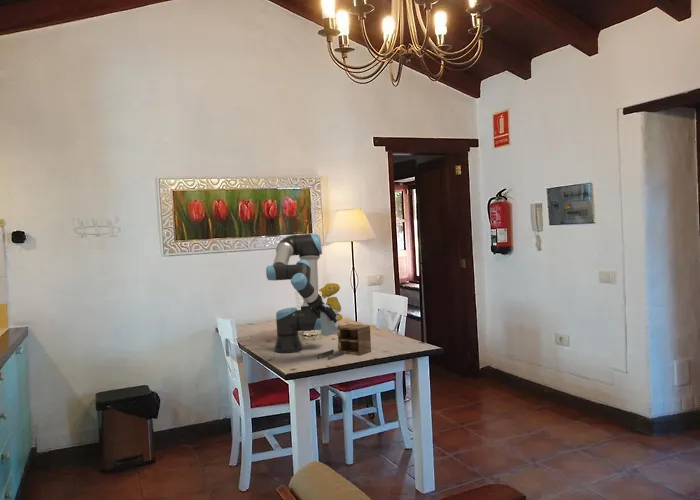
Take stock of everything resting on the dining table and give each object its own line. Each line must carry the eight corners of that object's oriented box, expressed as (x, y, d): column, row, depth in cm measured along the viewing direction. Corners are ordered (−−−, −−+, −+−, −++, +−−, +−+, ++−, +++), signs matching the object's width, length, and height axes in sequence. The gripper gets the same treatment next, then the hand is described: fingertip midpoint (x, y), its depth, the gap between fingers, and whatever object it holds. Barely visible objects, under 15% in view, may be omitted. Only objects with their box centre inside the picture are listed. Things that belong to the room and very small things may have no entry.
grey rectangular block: (321, 335, 295) (320, 312, 295) (332, 332, 302) (330, 309, 302) (327, 335, 293) (326, 312, 292) (338, 332, 300) (336, 310, 300)
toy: (318, 329, 380) (315, 284, 379) (321, 326, 392) (319, 282, 391) (341, 329, 378) (339, 283, 377) (344, 325, 391) (341, 282, 389)
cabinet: (318, 358, 296) (316, 331, 295) (345, 348, 315) (344, 323, 315) (344, 361, 286) (342, 333, 285) (371, 351, 305) (369, 325, 305)
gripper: (296, 303, 290) (318, 330, 304) (322, 304, 280) (344, 332, 293) (302, 291, 294) (324, 318, 308) (328, 292, 284) (349, 320, 297)
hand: (333, 325), depth 300 cm, fingers closed on grey rectangular block, 4 cm apart
